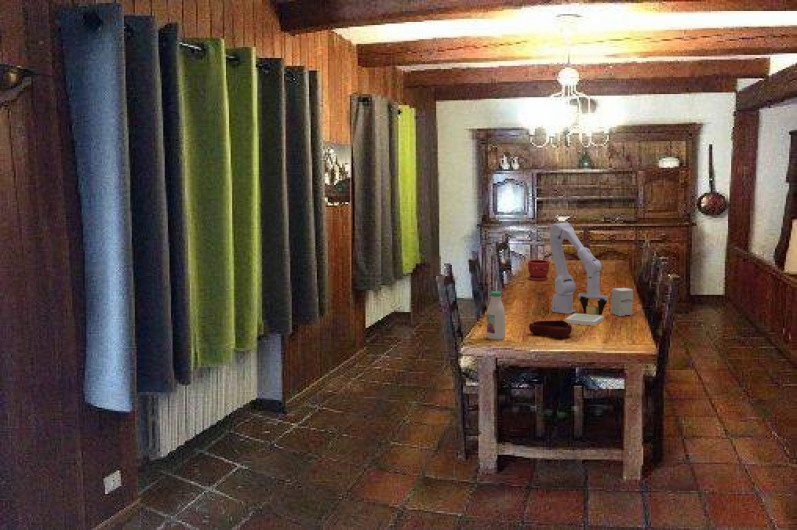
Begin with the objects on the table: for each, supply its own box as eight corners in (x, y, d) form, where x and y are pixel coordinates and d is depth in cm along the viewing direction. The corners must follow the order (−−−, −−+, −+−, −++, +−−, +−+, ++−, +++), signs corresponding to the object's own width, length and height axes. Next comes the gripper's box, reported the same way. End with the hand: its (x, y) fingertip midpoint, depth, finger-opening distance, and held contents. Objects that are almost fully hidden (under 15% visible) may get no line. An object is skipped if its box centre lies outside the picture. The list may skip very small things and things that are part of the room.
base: (564, 323, 332) (564, 318, 331) (574, 317, 343) (574, 313, 343) (595, 326, 324) (595, 321, 324) (604, 320, 336) (604, 315, 336)
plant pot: (526, 281, 449) (526, 262, 448) (529, 277, 462) (529, 259, 460) (548, 281, 446) (548, 262, 444) (550, 278, 458) (550, 259, 456)
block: (586, 317, 344) (586, 306, 343) (590, 315, 347) (590, 304, 346) (595, 318, 341) (595, 307, 340) (599, 316, 344) (599, 305, 343)
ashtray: (581, 333, 312) (581, 322, 311) (562, 341, 300) (562, 329, 299) (545, 328, 323) (545, 317, 323) (525, 335, 311) (525, 324, 311)
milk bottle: (503, 335, 311) (503, 290, 308) (506, 339, 304) (506, 293, 301) (485, 336, 311) (485, 290, 308) (488, 340, 303) (488, 293, 301)
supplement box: (619, 316, 342) (620, 290, 340) (610, 313, 349) (611, 288, 347) (633, 315, 344) (633, 289, 342) (624, 312, 351) (624, 287, 349)
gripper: (575, 285, 344) (575, 313, 346) (603, 288, 334) (603, 317, 336) (582, 283, 349) (582, 310, 351) (610, 286, 339) (610, 314, 341)
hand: (593, 313), depth 344 cm, fingers open, 7 cm apart
